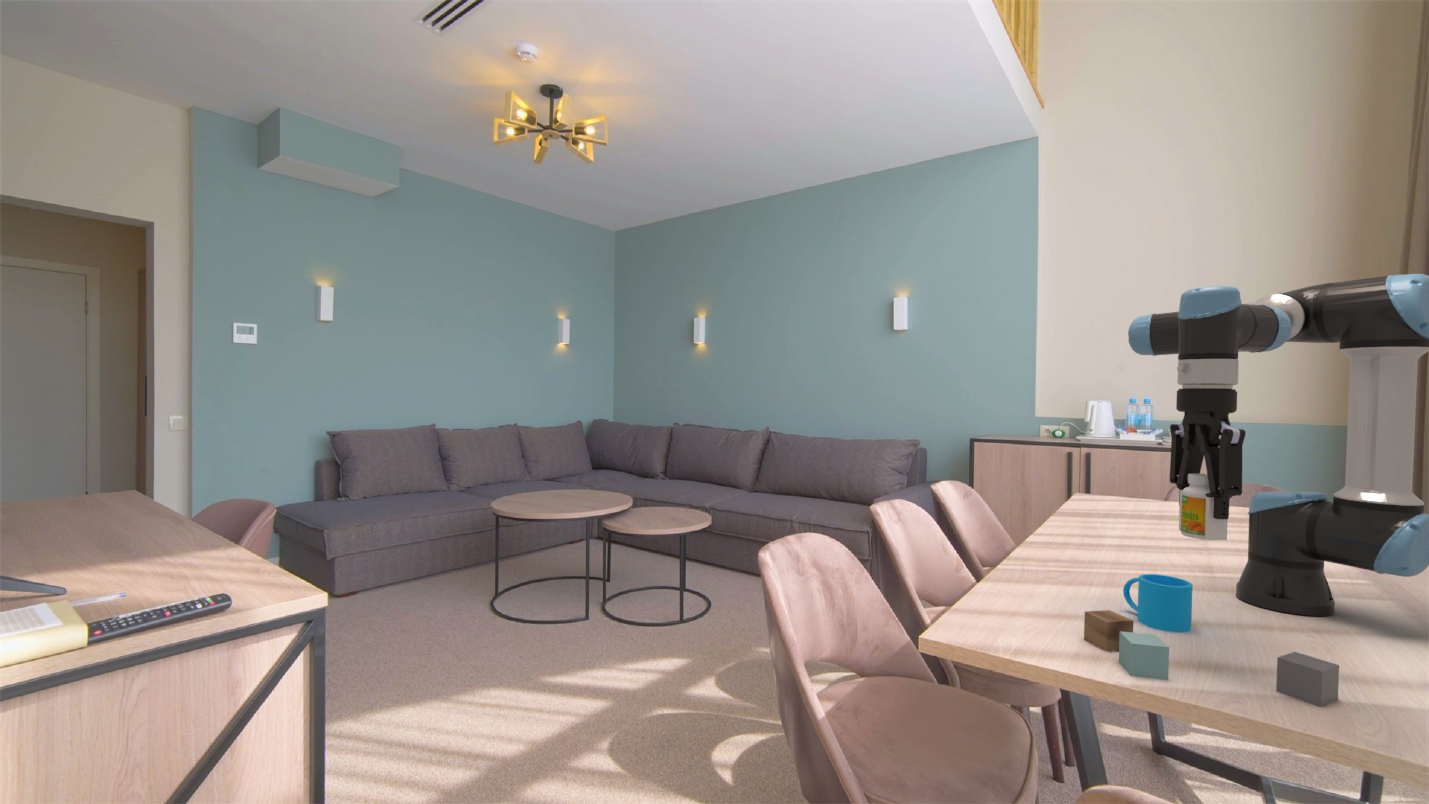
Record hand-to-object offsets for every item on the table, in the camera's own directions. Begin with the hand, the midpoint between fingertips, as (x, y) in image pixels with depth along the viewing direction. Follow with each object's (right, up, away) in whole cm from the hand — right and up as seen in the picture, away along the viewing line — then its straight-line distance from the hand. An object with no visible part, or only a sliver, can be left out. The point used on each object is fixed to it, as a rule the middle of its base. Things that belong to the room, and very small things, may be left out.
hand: (1202, 534), depth 100 cm
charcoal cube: (+8, -21, -9) cm, 24 cm away
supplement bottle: (0, -1, 0) cm, 1 cm away
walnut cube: (-10, -21, +8) cm, 24 cm away
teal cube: (-11, -21, -2) cm, 23 cm away
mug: (+6, -21, +20) cm, 29 cm away
